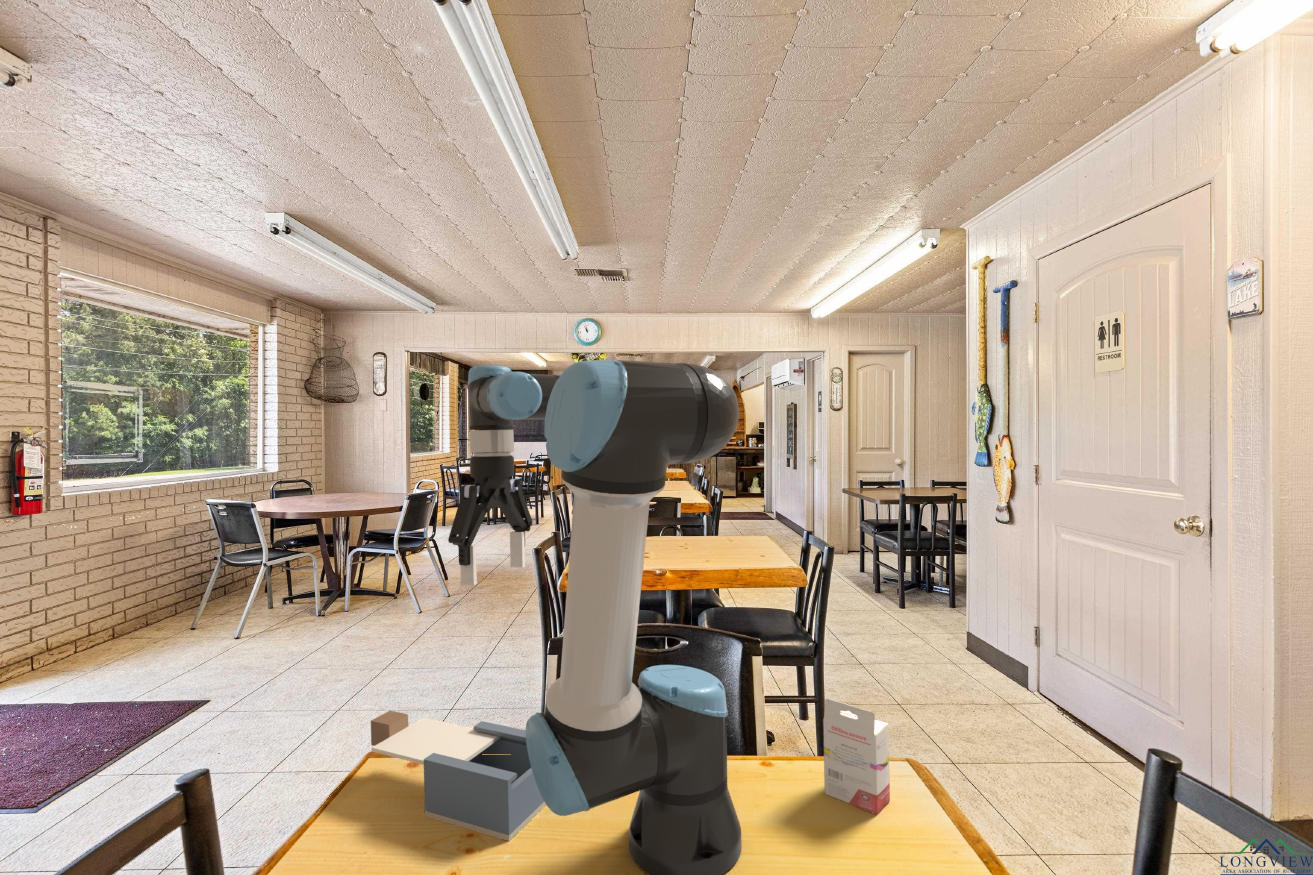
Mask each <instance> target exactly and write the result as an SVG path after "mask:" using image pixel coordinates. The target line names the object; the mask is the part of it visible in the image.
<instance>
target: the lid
mask: <svg viewBox="0 0 1313 875" xmlns="http://www.w3.org/2000/svg"><path fill="white" fill-rule="evenodd" d="M500 738H501V736H498V735H494V734H489V733H485V732H480V731H476V730H474V727H470V726H464V725H460V724H456V723H451V722H447V721H442V720H438V719H433V718H427V717H422V718H421V719H419V720H417V721H415V722H413V723H412V724H410V725H409V714H407V713H403V712H399V711H393V710H388V711H386V712H384V713H382V714H380V715H378V716H377V717H375V718H373V719H371V720H370V742H371V743H370V744H371V746H372V747H371V752H372V753H373V752H374V753H377V754H380V755H384V756H388V757H392V758H396V759H400V760H404V761H407V762H410V763H411V762H413V763H414V764H415V763H416V764H420V765H423V766H424V759H425V758H426V757H428V756H429V755H431V754H432V753H436V754H440V755H445V756H449V757H453V758H457V759H461V760H465V761H470V760H471V759H472V758H474V757H475V756H476V755H478V754H479V753H481V752H482V751H483V750H485V749H486V748H487V747H489V746H490V745H492V744H493V743H494V742H496V741H497V740H499V739H500Z"/></svg>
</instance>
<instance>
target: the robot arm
mask: <svg viewBox="0 0 1313 875" xmlns="http://www.w3.org/2000/svg"><path fill="white" fill-rule="evenodd" d="M467 379H468V380H467V385H466V389H467V393H468V396H467V397H468V425H469V426H468V427H469V452H470V454H473V456H470V458H469V469H470V470H469V475H470V477H471V478H473V479H474V484H473V485H472V484H462V485H461V487H460V499H459V502H458V506H457V509H456V512H455V515H454V519H453V522H452V526H451V529H450V533H449V534H448V535H449V537H448V539H447V540H448V543H449V544H452V545H453V546H457V548H458V564H459V566H460V584H461V585H471V586H475V585H477V584H478V581H477V580H478V578H477V574H478V573H477V571H478V570H477V544H474V543H473V542H474V541H475V538H476V536H477V534H478V532H479V530H480V528H481V526H482V524H483V522H484V519H485V517H486V515H487V513H489V512H490V511H491V510H492V509H493V510H494V509H496V508H499V509H500V510H501V512H502V514H503V515H504V518H505V519H506V520H507V522H508V524H509V525H510V527H511V529H512V530H511V531H510V532H509V553H510V554H509V555H510V558H509V559H510V560H509V561H510V562H509V563H510V568H518V569H523V568H525V567H526V557H525V556H526V555H525V553H526V551H525V548H526V532H530V531H531V527H532V526H533V519H532V517H531V514H530V511H529V510H530V509H529V508H528V504H527V501H526V498H525V496H524V492H523V487H522V485H523V484H522V480H521V479H520V478H510V477H512V476H513V477H514V475H515V457H514V455H512V453H513V452H514V451H515V442H514V441H515V439H514V438H515V437H514V436H515V435H514V421H522V420H523V421H524V420H525V421H527V420H531V421H534V420H537V421H538V420H544V427H543V428H544V438H545V439H546V442H545V449H546V450H545V451H546V453H547V457H548V459H549V461H550V463H551V464H552V465H553V466H554V467H555V468H557V469H558V470H561V482H562V483H563V484H564V485H565V486H566V487H567V489H569V490H570V491H571V493H572V495H573V499H572V500H573V503H572V514H571V515H572V518H571V528H570V529H571V531H570V541H569V542H570V543H569V556H568V571H567V586H566V597H565V609H564V611H565V612H564V623H563V637H562V651H561V665H560V677H559V678H557V679H555V681H553V682H552V684H551V685H550V686H549V688H548V689H547V692H546V695H545V707H544V708H545V709H544V712H535V714H534V715H533V714H532V715H531V716H530V717H529V718H528V720H526V723H525V730H526V744H527V751H528V756H529V760H530V764H531V768H532V772H533V775H534V778H535V781H536V784H537V787H538V789H539V792H540V794H541V796H542V798H543V800H544V802H545V803H546V807H547V808H548V809H549V810H550V812H552V813H554V814H555V815H557V816H560V817H561V816H562V817H566V816H570V815H574V814H578V813H581V812H582V813H583V812H587V811H588V812H589V811H590V810H591V809H593V808H597V807H599V806H603V805H605V804H607V803H610V802H613V801H616V800H618V799H621V798H624V797H626V796H629V795H631V794H634V793H637V792H639V794H638V795H637V799H636V802H635V806H634V810H633V813H632V816H631V819H630V822H629V823H630V824H629V826H628V827H629V828H628V849H629V853H630V856H631V859H632V860H633V862H635V864H636V865H637V866H638V867H639V868H640V869H641V870H643V871H644V872H645V873H647V874H648V875H723V874H726V873H727V872H729V870H730V869H732V868H733V867H734V866H735V865H736V863H737V862H738V861H739V858H741V857H740V856H741V855H742V854H741V853H742V846H743V845H742V841H743V840H742V827H741V823H740V820H739V817H738V815H737V811H736V808H735V805H734V802H733V800H732V797H731V795H730V794H731V793H730V792H729V788H728V786H729V785H728V745H727V744H728V743H727V742H728V740H727V739H728V738H727V735H728V734H727V732H728V731H727V728H728V727H727V721H728V720H727V718H728V715H729V714H728V712H729V711H728V708H727V707H728V706H727V698H726V696H727V695H726V689H725V687H724V684H723V682H721V680H720V679H719V678H718V677H716V676H715V675H713V674H712V673H710V672H708V671H705V670H702V669H700V668H696V667H691V666H685V665H680V664H679V665H678V664H659V665H652V666H650V667H646V668H645V669H643V670H642V671H641V672H640V673H639V678H637V685H638V687H637V685H636V684H635V683H634V682H633V673H634V672H633V671H634V662H635V654H636V652H635V651H636V642H637V635H638V634H637V633H638V632H637V631H638V622H639V613H640V612H639V611H640V602H641V594H642V593H641V592H642V582H643V574H644V563H645V553H646V552H645V551H646V544H647V534H648V532H647V531H648V523H649V522H648V521H649V514H650V513H649V511H650V503H651V500H652V499H653V498H654V497H655V496H657V495H658V494H660V493H661V492H662V491H664V488H665V485H666V478H667V468H668V465H680V464H683V465H684V464H692V463H693V464H694V463H697V462H700V461H703V460H707V459H710V458H711V457H712V456H714V455H716V454H718V453H719V452H720V451H722V450H723V449H724V448H725V447H726V446H727V445H728V444H729V442H730V441H731V440H732V438H733V436H734V434H735V433H736V430H737V427H738V424H739V418H740V407H739V406H740V405H739V401H738V398H737V395H736V392H735V390H734V388H733V386H732V385H731V384H730V383H729V382H728V380H727V378H724V377H723V376H722V375H721V374H719V373H718V372H717V371H715V370H713V369H711V368H709V367H706V366H703V365H699V364H696V363H695V364H694V363H683V362H681V363H679V362H678V363H677V362H676V363H674V362H673V363H672V362H654V361H639V360H626V359H625V360H622V359H615V358H613V359H609V358H606V359H593V360H592V359H591V360H590V359H589V360H580V361H577V362H574V363H572V364H570V365H568V367H566V368H565V370H564V371H563V372H562V373H561V374H541V373H540V374H538V373H526V372H523V371H512V369H511V368H509V367H508V366H505V365H489V364H488V365H487V364H486V365H485V364H484V365H475V366H472V367H471V368H469V371H468V378H467Z"/></svg>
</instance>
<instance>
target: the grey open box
mask: <svg viewBox="0 0 1313 875" xmlns="http://www.w3.org/2000/svg"><path fill="white" fill-rule="evenodd" d="M473 728H474V730H476V731H480V732H485V733H489V734H494V735H498V736H501V738H500V739H499V740H497V741H496V742H494V743H493V744H492V745H490V746H489V747H487V748H486V749H485V750H483V751H482V752H481V753H479V754H478V755H476V756H475V757H474V758H472V759H471V760H470V761H465V760H461V759H457V758H453V757H449V756H445V755H440V754H436V753H432V754H431V755H429V756H428V757H426V758H425V759H424V765H423V783H424V784H423V787H424V788H423V789H424V790H423V791H424V792H423V793H424V795H423V796H424V817H426V818H430V819H434V820H437V821H439V822H444V823H447V824H450V825H453V826H457V827H459V828H464V829H467V830H470V831H474V832H477V833H480V834H483V835H486V836H491V837H494V838H497V839H500V840H503V841H507V842H510V841H511V840H512V839H513V838H514V837H516V836H517V835H518V834H519V832H520V831H521V830H522V829H524V828H525V827H526V826H527V825H528V823H530V822H531V821H532V819H534V817H536V816H537V814H539V813H540V812H541V811H542V810H543V809H544V808H545V807H547V805H546V803H545V802H544V800H543V798H542V796H541V794H540V792H539V789H538V787H537V784H536V781H535V778H534V775H533V772H532V768H531V764H530V760H529V756H528V751H527V744H526V729H521V728H516V727H512V726H506V725H501V724H497V723H493V722H488V721H483V720H482V721H480V722H478V723H477V724H475V725H474V726H473ZM482 754H511V755H482Z"/></svg>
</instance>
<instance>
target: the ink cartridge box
mask: <svg viewBox="0 0 1313 875" xmlns="http://www.w3.org/2000/svg"><path fill="white" fill-rule="evenodd" d="M823 714H824V716H823V720H822V722H823V723H822V724H823V725H822V726H823V764H824V766H823V771H824V772H823V773H824V774H823V776H824V777H823V778H824V780H823V782H824V786H823V787H824V793H825V795H828V796H830V797H833V798H835V799H837V800H840V801H843V802H845V803H847V804H850V805H851V806H854V807H856V808H857V807H858V808H860V809H861V810H864V811H867V812H870V813H872V814H874V815H878V814H879V813H880V812H881V811H882V810H883V809H884V808H885V807H886V805H888V803H889V802H890V801H891V790H890V788H891V784H890V774H891V773H890V746H889V744H890V742H889V741H890V738H889V737H890V736H889V723H888V722H884V721H881V720H878V719H877V720H876V715H875V713H874V712H873V711H871V710H867V709H863V708H860V707H857V706H855V705H851V704H847V703H844V702H840V701H838V700H834V699H830V698H828V697H827V698H825V699H824V713H823Z"/></svg>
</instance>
